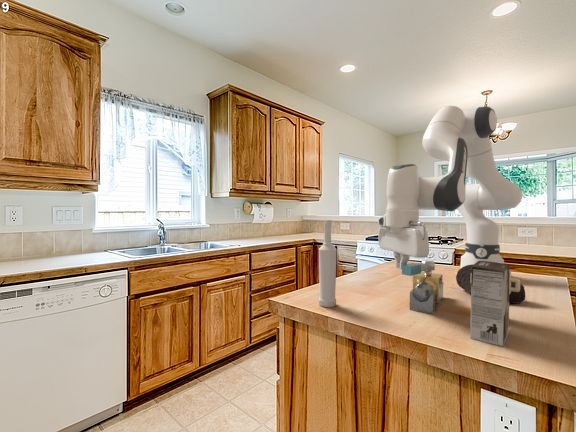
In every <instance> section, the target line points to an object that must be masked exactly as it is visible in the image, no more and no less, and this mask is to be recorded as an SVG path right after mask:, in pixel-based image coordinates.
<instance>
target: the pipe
mask: <svg viewBox="0 0 576 432" xmlns="http://www.w3.org/2000/svg"><path fill="white" fill-rule="evenodd" d="M473 265H474V264H473ZM473 265H467V266H464V267H462V268H461V267H460V269H459V270H457V271H456V272H457V275H456V274H455V280H456V284H457V285H458V287H460V289H463V290H464V291H465V292H467V294H469V295H470V296H471V270H472V268H471V266H473ZM515 285H516V283H515V282H511V287H513V288H515ZM525 299H526V290H525V287H524V285H523V284H522V283H521V282H520V292H514V291H511V293H510V295H509V304H518V303H519V304H520V303H523V302H524V301H525Z"/></svg>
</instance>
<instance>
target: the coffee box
mask: <svg viewBox="0 0 576 432" xmlns="http://www.w3.org/2000/svg"><path fill="white" fill-rule="evenodd" d="M510 267H511V265H510V263H504V264H503V263H497V262H489V261H478V262H476V263H475V264H474V265H473V266H471V268H472V270H471V295H470V319H469V320H470V321H469V322H470V327H469V328H470V331H469V333H470V334H469V335H470V337H469V338H470V339H472V340H475V341H480V342H484V343H488V344H493V345H496V346H501V347H504V346H505V345H506V341H507V338H508V335H509V331H510V302H509V279H510V270H511V268H510Z"/></svg>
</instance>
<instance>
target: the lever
mask: <svg viewBox="0 0 576 432" xmlns="http://www.w3.org/2000/svg"><path fill="white" fill-rule="evenodd" d="M435 262H436V261H433V260H423V259H422V260H421V262H417V263H416V262H415V263H414V262H410V263H407V264H405V265H402V269H401V275H404V276H409V277H413V275H416V274H420V273H421V272H424V271H426V270H429V271H432V272H433V271H435V269H436V268H435V266H436V263H435Z"/></svg>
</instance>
